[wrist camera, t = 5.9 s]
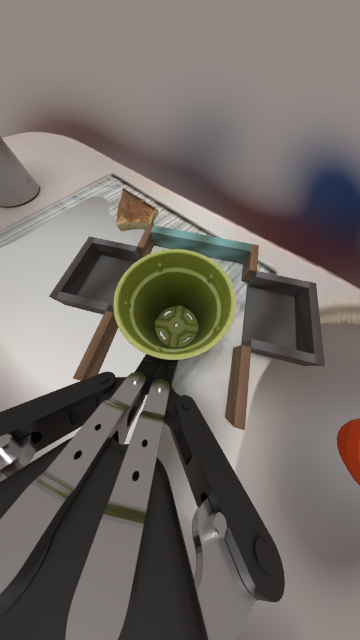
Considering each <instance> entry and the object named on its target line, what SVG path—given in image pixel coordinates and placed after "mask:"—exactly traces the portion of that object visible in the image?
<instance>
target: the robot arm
mask: <svg viewBox="0 0 360 640" xmlns="http://www.w3.org/2000/svg"><path fill="white" fill-rule="evenodd" d="M38 191H39V186H38V184H37V183H36V182H35V180H34V179H33V178H32V177H31V175H30V174H29V173H28V171H27V170H26V169H25V168H24V166H23V165H22V164H21V162H20V161H19V160H18V159H17V157H16V156H15V155H14V153H13V152H12V151H11V150H10V148H9V147H8V146H7V144H6V143H5V142H4V141H3V139H2V138H1V137H0V206H5V207H9V206H16V205H20V204H23V203H25V202H27V201H29V200H31V199H32V198H33V197H35V196H36V194H37V193H38ZM162 347H164V346H162ZM165 348H167V347H165ZM177 362H178V360H167V359H161V358H157V357H153V356H150V355H148V354H146V355H145V357H144V358H143V360H142V362H141V363H140V365H139V366H138V368H137V369H136V371H135V372H134V373H131V374H130V375H129V376H128V377H115V375H114V374H113V373H111V372H103V373H101V374H98V375H95V376H93V377H90V378H87V379H85V380H82V381H80V382H77V383H75V384H72V385H69V386H67V387H64V388H62V389H59V390H57V391H54V392H51V393H49V394H46V395H44V396H41V397H38V398H36V399H33V400H31V401H28V402H25V403H23V404H20V405H18V406H15V407H13V408H10V409H7V410H5V411H2V412H0V640H236V638H237V636H238V634H239V632H240V630H241V628H242V626H243V625H244V622H245V620H246V619H247V617H248V615H249V613H250V611H251V609H252V607H253V605H254V603H255V602H256V601H257V600H263V601H269V602H277V601H279V600H280V599H281V598H282V596H283V593H284V585H285V580H284V571H283V566H282V562H281V558H280V555H279V552H278V550H277V547H276V545H275V543H274V541H273V539H272V537H271V535H270V534H269V532H268V531H267V528H266V527H265V525H264V523H263V521H262V520H261V518H260V516H259V514H258V513H257V511H256V509H255V507H254V506H253V504H252V502H251V500H250V498H249V497H248V495H247V493H246V492H245V490H244V488H243V487H242V484H241V483H240V481H239V479H238V477H237V476H236V474H235V472H234V470H233V469H232V467H231V465H230V463H229V461H228V460H227V458H226V456H225V454H224V453H223V451H222V449H221V447H220V446H219V444H218V442H217V440H216V439H215V437H214V435H213V433H212V432H211V430H210V428H209V426H208V425H207V423H206V421H205V419H204V417H203V416H202V414H201V412H200V410H199V409H198V407H197V405H196V403H195V402H194V400H193V399H192V398H191V397H189V396H186V395H183V396H179V395H178V394H177V393H175V392H174V390H173V388H172V381H173V378H174V374H175V370H176V366H177ZM146 394H147V395H148V396H147V399H146V403H145V405H144V408H143V411H142V413H141V414H140V416H139V418H138V421H137V424H136V427H135V430H134V432H133V435H132V438H131V441H130V443H129V444H124V442H125V439H126V437H127V434H128V431H129V429H130V427H131V425H132V423H133V421H134V419H135V417H136V415H137V414H138V412H139V410H140V408H141V406H142V404H143V400H144V398H145V396H146ZM163 422H164V423H165V424H167V425H168V426H169V427H170V431H171V433H172V436H173V439H174V442H175V445H176V448H177V450H178V453H179V456H180V459H181V462H182V464H183V467H184V470H185V473H186V476H187V478H188V481H189V484H190V487H191V490H192V493H193V495H194V498H195V501H196V504H197V507H198V508H197V509H196V511H195V513H194V517H193V522H192V534H193V540H194V545H195V550H196V573H195V578H193V574H192V570H191V566H190V562H189V558H188V554H187V550H186V546H185V542H184V538H183V534H182V530H181V526H180V522H179V518H178V514H177V510H176V506H175V502H174V498H173V494H172V490H171V486H170V482H169V478H168V475H167V472H166V470H165V468H164V466H163V464H162V463H161V461H160V460H159V459H158V458H157V453H158V448H159V443H160V437H161V432H162V427H163ZM81 426H82V427H81ZM79 427H81V429H80V430H79V431H78V432H77V434H76V435H75V436H74V437H72V438H70V439H68V440H67V441H65V442H63V443H62V444H60V445H58V446H57V447H55V448H54V449H52V450H51V451H49V452H47V453H46V454H44V455H42V456H41V457H40V458H38V459H36V460H35V461H33V462H31V463H30V460H31V459H32V458H33V456H34V454H35V453H36V452H37V451H39V450H41V449H43V448H45V447H46V446H48V445H50V444H51V443H53V442H55V441H56V440H58V439H60V438H62V437H64V436H65V435H67V434H69V433H71V432H72V431H74V430H76V429H78V428H79ZM29 463H30V464H29Z"/></svg>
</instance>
